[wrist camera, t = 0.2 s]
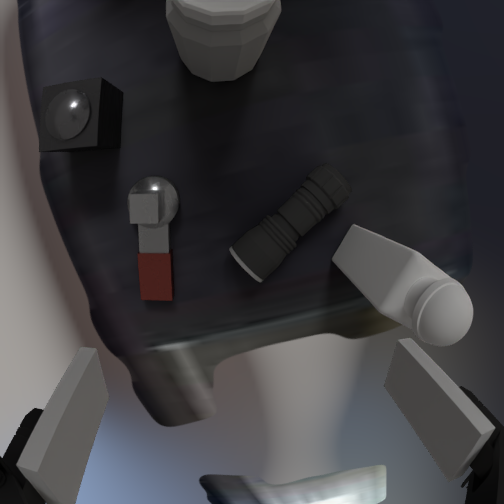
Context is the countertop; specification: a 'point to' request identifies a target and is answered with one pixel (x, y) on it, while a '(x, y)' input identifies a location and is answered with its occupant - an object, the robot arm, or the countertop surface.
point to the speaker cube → (80, 116)
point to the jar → (221, 34)
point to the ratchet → (154, 234)
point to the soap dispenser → (405, 286)
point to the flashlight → (290, 222)
